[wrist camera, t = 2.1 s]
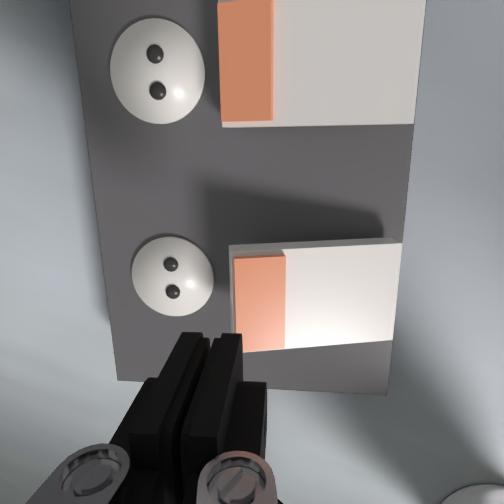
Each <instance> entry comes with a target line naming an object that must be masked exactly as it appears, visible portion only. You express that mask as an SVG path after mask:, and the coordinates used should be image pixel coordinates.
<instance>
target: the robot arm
mask: <svg viewBox="0 0 504 504" xmlns="http://www.w3.org/2000/svg"><path fill="white" fill-rule="evenodd" d="M266 430H267V382H256V381H243V341H242V333H222V334H221V337H220V338H214V340H213V343H212V346H211V348H210V339H209V338H205V337H203V333H202V332H182V333H181V335H180V337H179V338H178V340H177V342H176V344H175V346H174V348H173V350H172V352H171V353H170V355H169V357H168V359H167V361H166V363H165V365H164V367H163V368H162V370H161V372H160V374H159V376H158V378H156V377H149V378H147V379H146V381H145V382H144V384H143V385H142V387H141V389H140V391H139V392H138V394H137V396H136V398H135V399H134V401H133V403H132V404H131V406H130V408H129V410H128V411H127V413H126V415H125V417H124V418H123V420H122V422H121V424H120V425H119V427H118V429H117V430H116V432H115V434H114V436H113V437H112V439H111V441H110V443H109V444H103V443H102V444H96V445H90V446H88V447H85V448H83V449H80V450H78V451H76V452H75V453H73V454H71V455H70V456H68V457H67V458H66V459H65V460H64V461H63V462H62V463H61V464H60V465H59V466H58V467H57V468H56V469H55V470H54V471H53V472H52V474H51V475H50V476H49V477H48V478H47V479H46V480H45V482H44V483H43V484H42V485H41V486H40V487H39V488H38V489H37V491H36V492H35V493H34V494H33V495H32V496H31V497H30V499H29V500H28V501H27V502H26V503H25V504H283V503H282V502H281V501H280V500H279V499H277V492H276V485H275V478H274V475H273V472H272V469H271V467H270V466H269V465H268V463H267V462H266V461H265V448H266Z"/></svg>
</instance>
